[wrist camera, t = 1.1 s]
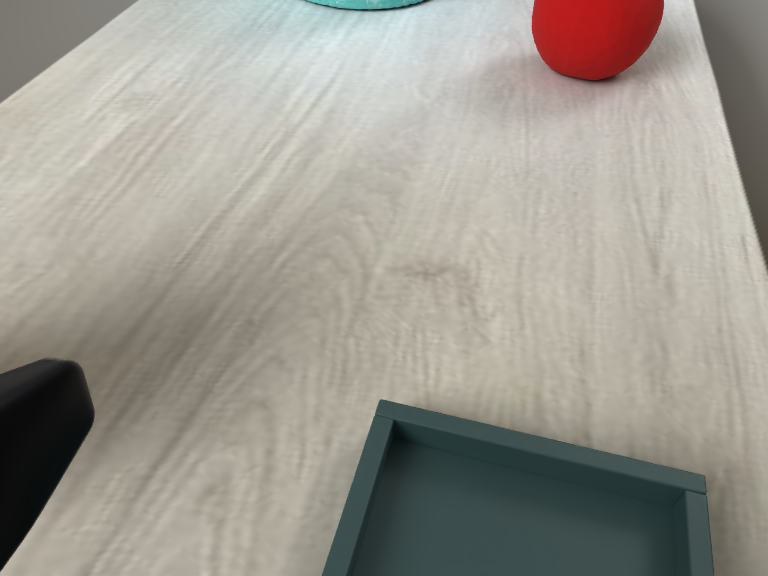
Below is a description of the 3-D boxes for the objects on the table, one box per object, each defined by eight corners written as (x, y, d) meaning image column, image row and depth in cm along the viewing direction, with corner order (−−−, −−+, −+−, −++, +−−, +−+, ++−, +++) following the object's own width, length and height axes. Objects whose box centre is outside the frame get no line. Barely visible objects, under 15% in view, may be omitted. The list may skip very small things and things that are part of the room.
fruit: (544, 100, 47) (576, -46, 40) (509, 45, 54) (532, -89, 46) (662, 93, 48) (713, -50, 41) (614, 41, 55) (652, -91, 47)
